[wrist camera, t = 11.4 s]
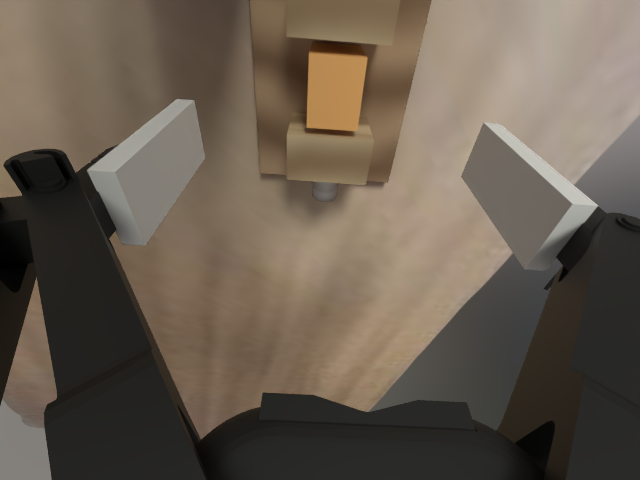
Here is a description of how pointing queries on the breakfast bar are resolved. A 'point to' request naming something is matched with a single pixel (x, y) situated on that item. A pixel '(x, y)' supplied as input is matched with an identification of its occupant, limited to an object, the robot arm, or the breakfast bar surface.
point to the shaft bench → (292, 86)
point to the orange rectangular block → (335, 86)
